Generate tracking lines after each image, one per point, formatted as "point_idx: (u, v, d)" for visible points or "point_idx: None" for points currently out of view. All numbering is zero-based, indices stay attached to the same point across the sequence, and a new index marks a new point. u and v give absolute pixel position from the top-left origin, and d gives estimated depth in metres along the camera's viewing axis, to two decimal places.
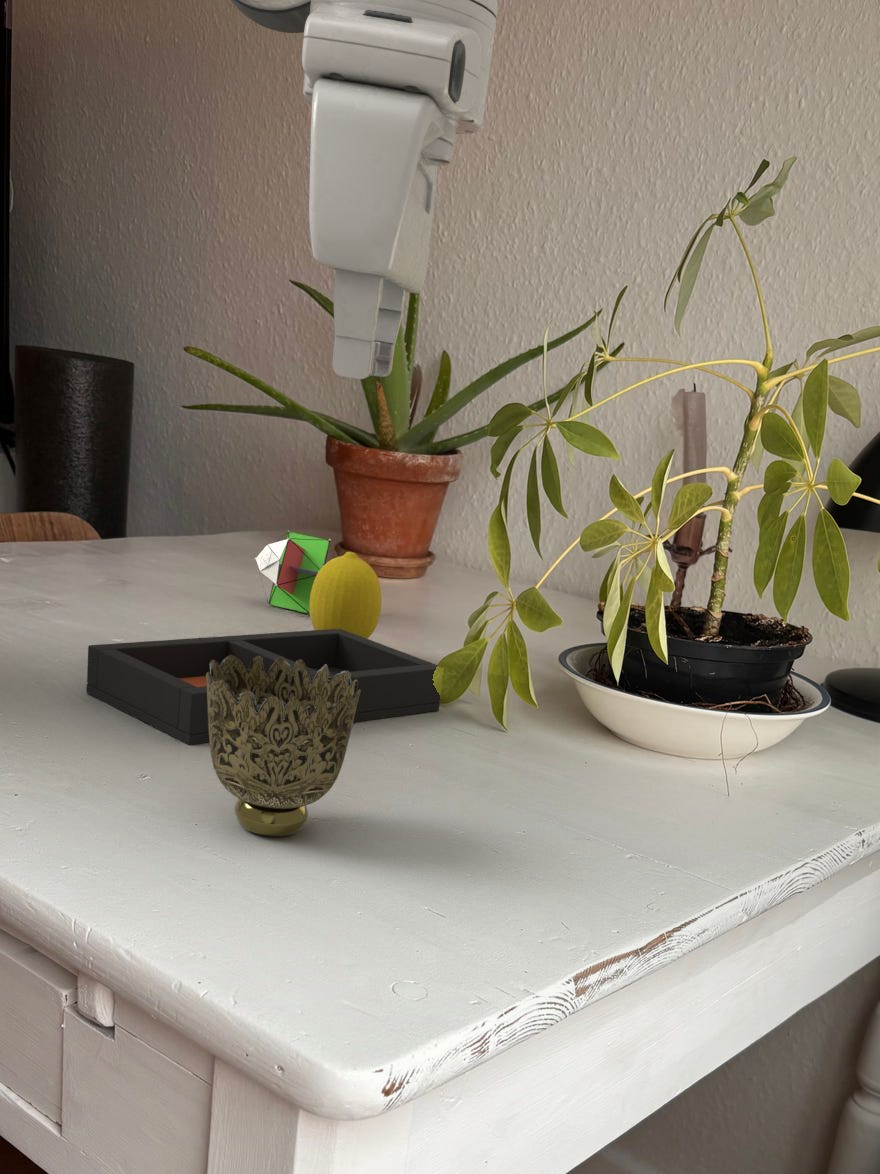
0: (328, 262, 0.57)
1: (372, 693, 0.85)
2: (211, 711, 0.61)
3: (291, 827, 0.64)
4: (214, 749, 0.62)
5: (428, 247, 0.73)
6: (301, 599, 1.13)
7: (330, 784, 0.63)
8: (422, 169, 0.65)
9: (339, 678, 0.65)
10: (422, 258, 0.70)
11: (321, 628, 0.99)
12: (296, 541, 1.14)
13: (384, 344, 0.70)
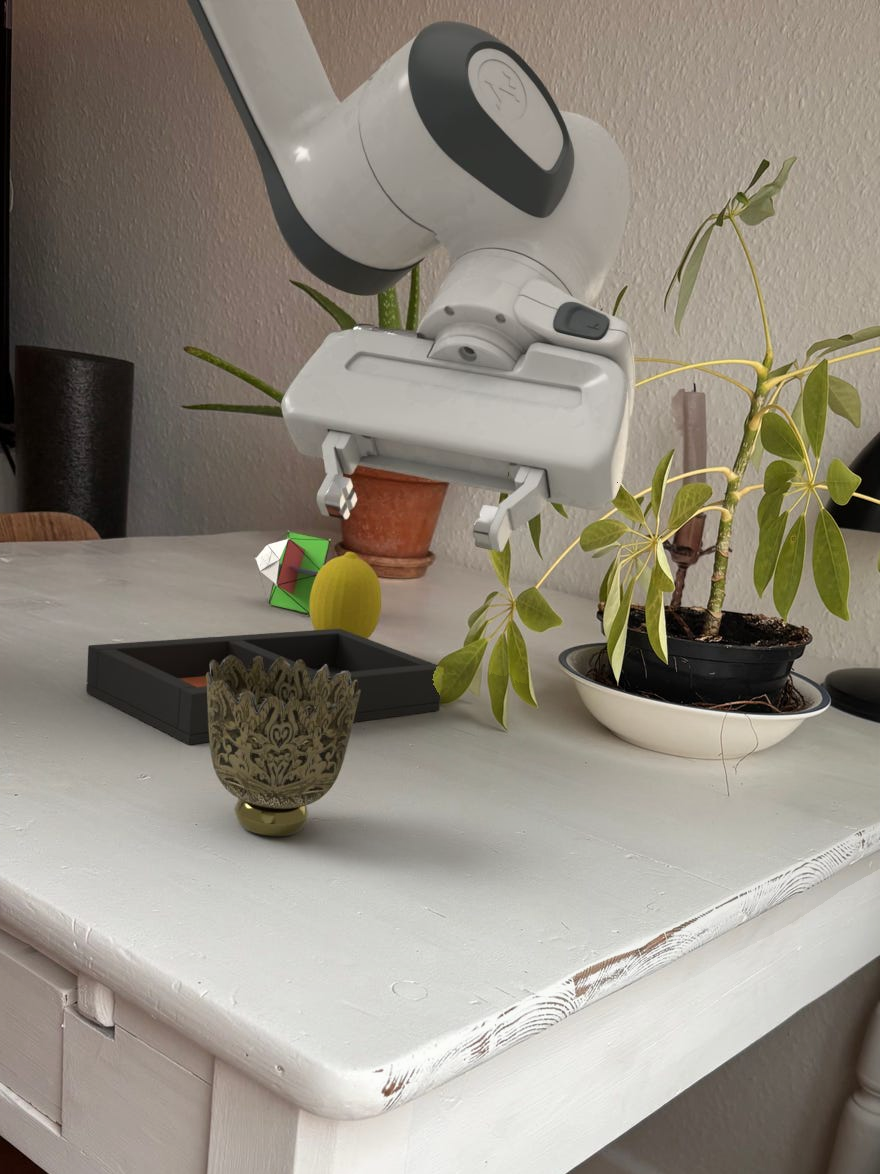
0: (595, 479, 0.69)
1: (372, 693, 0.85)
2: (211, 711, 0.61)
3: (291, 827, 0.64)
4: (214, 749, 0.62)
5: None
6: (301, 599, 1.13)
7: (330, 784, 0.63)
8: None
9: (339, 678, 0.65)
10: None
11: (321, 628, 0.99)
12: (296, 541, 1.14)
13: (355, 495, 0.73)
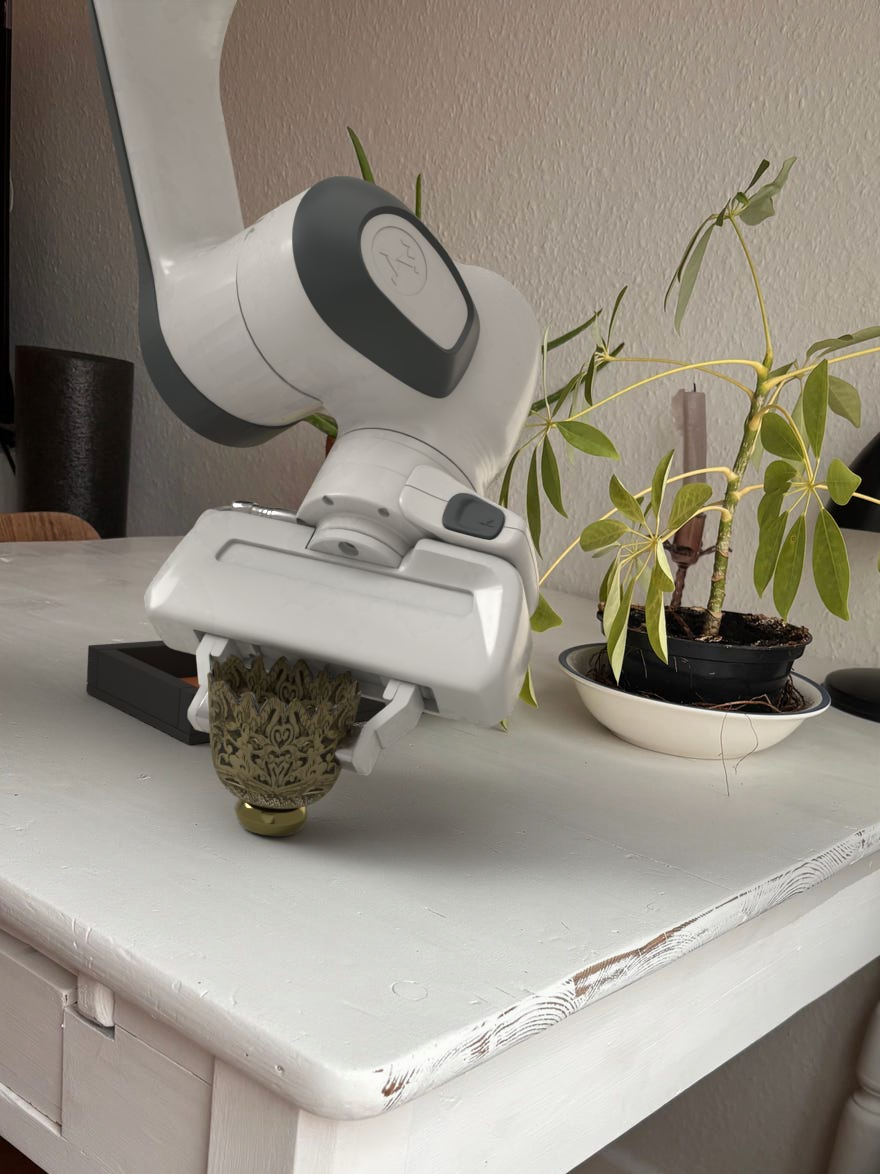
0: (485, 701, 0.61)
1: None
2: (212, 711, 0.61)
3: (291, 827, 0.64)
4: (215, 749, 0.62)
5: None
6: None
7: (330, 785, 0.63)
8: None
9: (340, 679, 0.65)
10: None
11: None
12: None
13: None
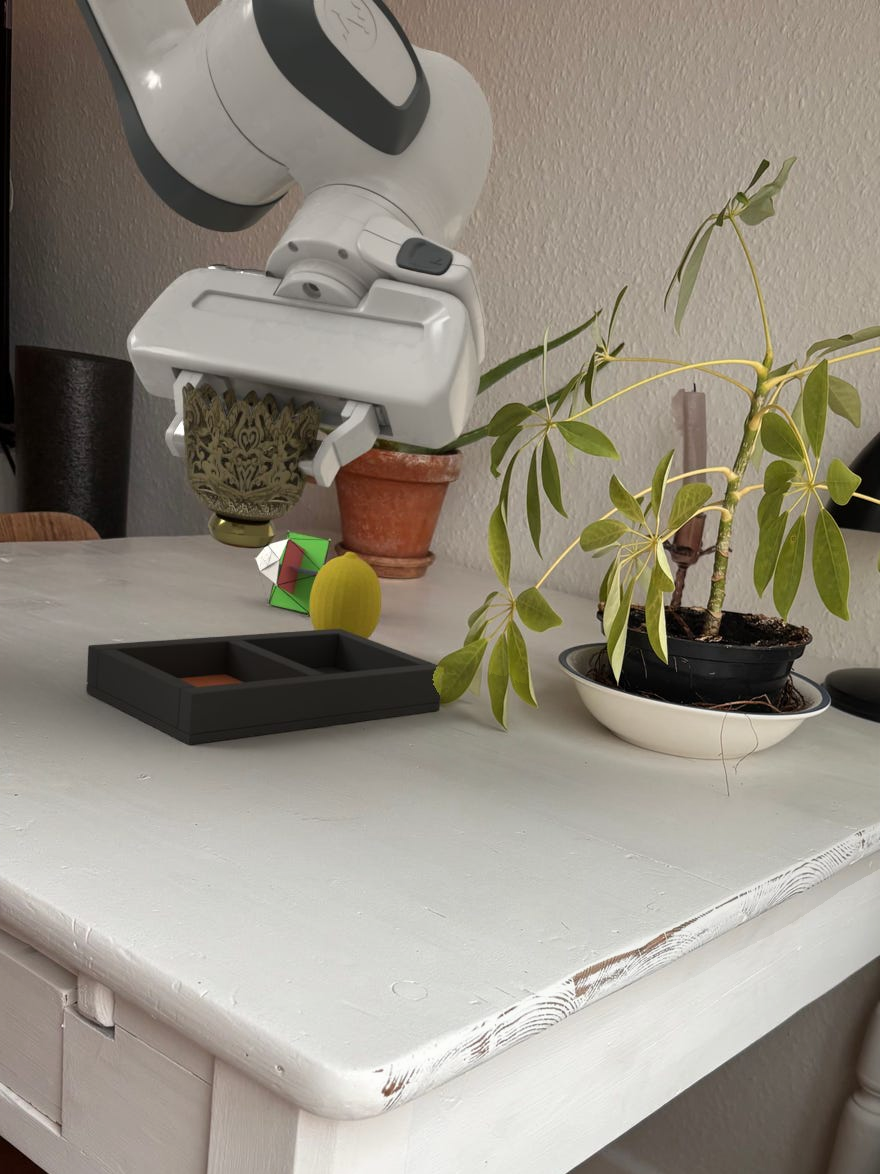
0: (433, 415, 0.68)
1: (372, 693, 0.85)
2: (186, 423, 0.67)
3: (259, 539, 0.70)
4: (189, 460, 0.68)
5: None
6: (301, 599, 1.13)
7: (294, 498, 0.70)
8: None
9: (304, 408, 0.71)
10: None
11: (321, 628, 0.99)
12: (296, 541, 1.14)
13: None
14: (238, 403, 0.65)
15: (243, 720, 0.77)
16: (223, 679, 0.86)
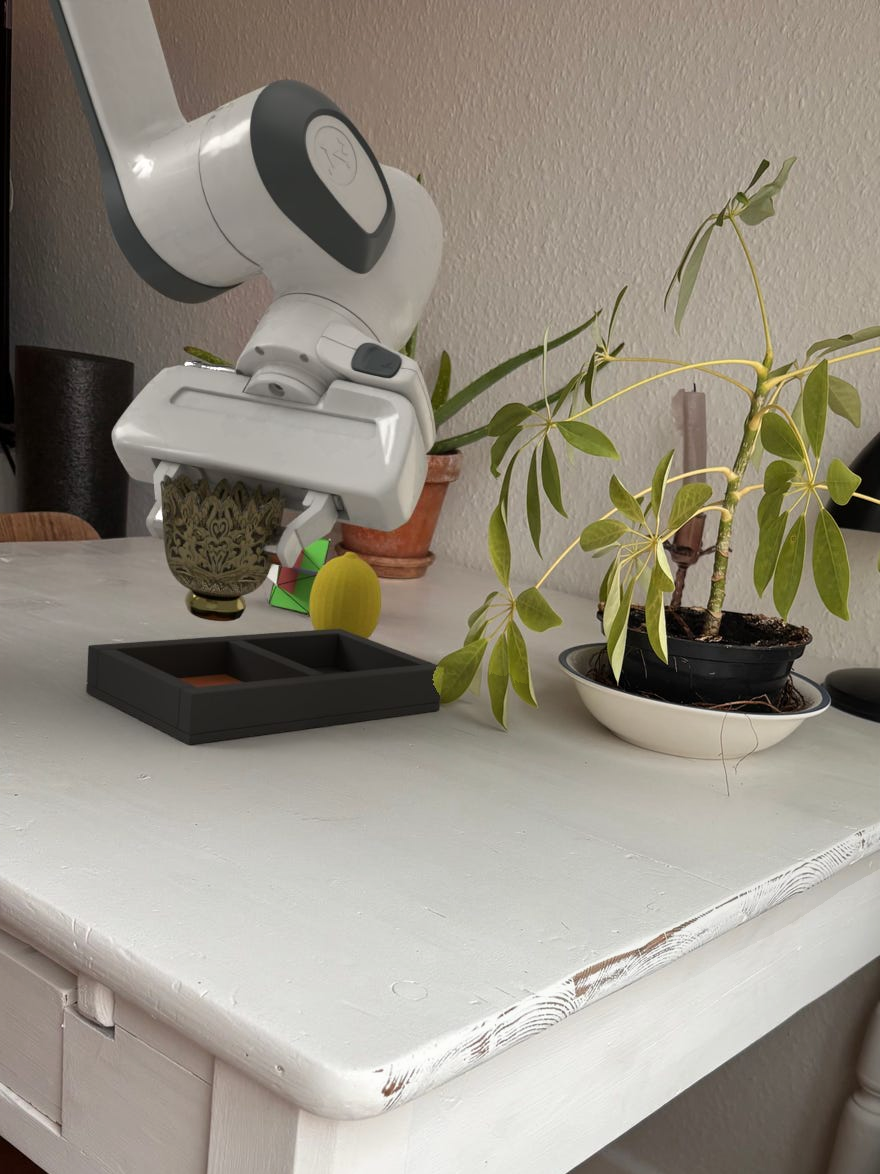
0: (383, 504, 0.76)
1: (372, 693, 0.85)
2: (164, 513, 0.76)
3: (230, 613, 0.79)
4: (167, 545, 0.77)
5: None
6: (301, 599, 1.13)
7: (261, 577, 0.78)
8: None
9: (270, 495, 0.80)
10: None
11: (321, 628, 0.99)
12: None
13: None
14: (209, 498, 0.74)
15: (243, 720, 0.77)
16: (223, 679, 0.86)
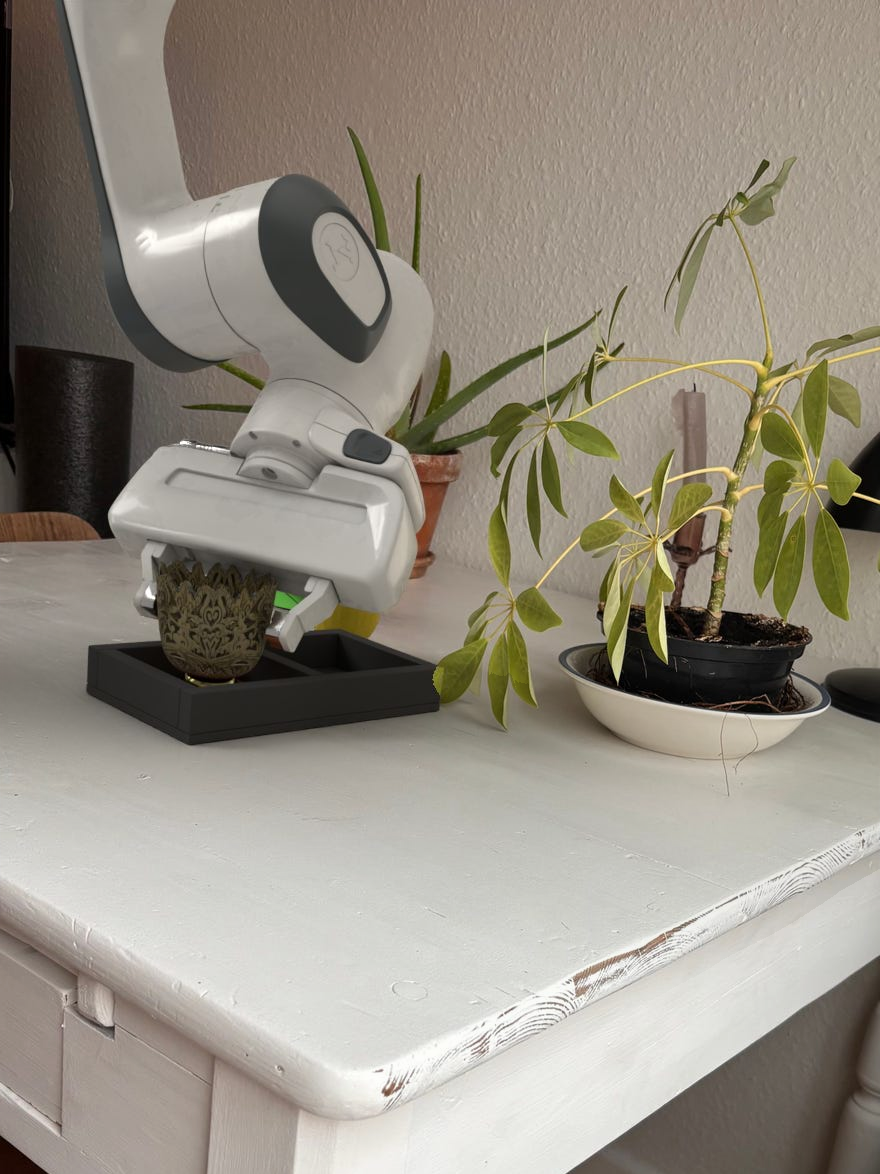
0: (373, 589, 0.78)
1: (372, 693, 0.85)
2: (159, 600, 0.78)
3: None
4: (162, 630, 0.79)
5: None
6: (301, 599, 1.13)
7: (254, 660, 0.80)
8: None
9: (263, 579, 0.82)
10: None
11: (321, 628, 0.99)
12: None
13: None
14: (203, 587, 0.76)
15: (243, 720, 0.77)
16: None
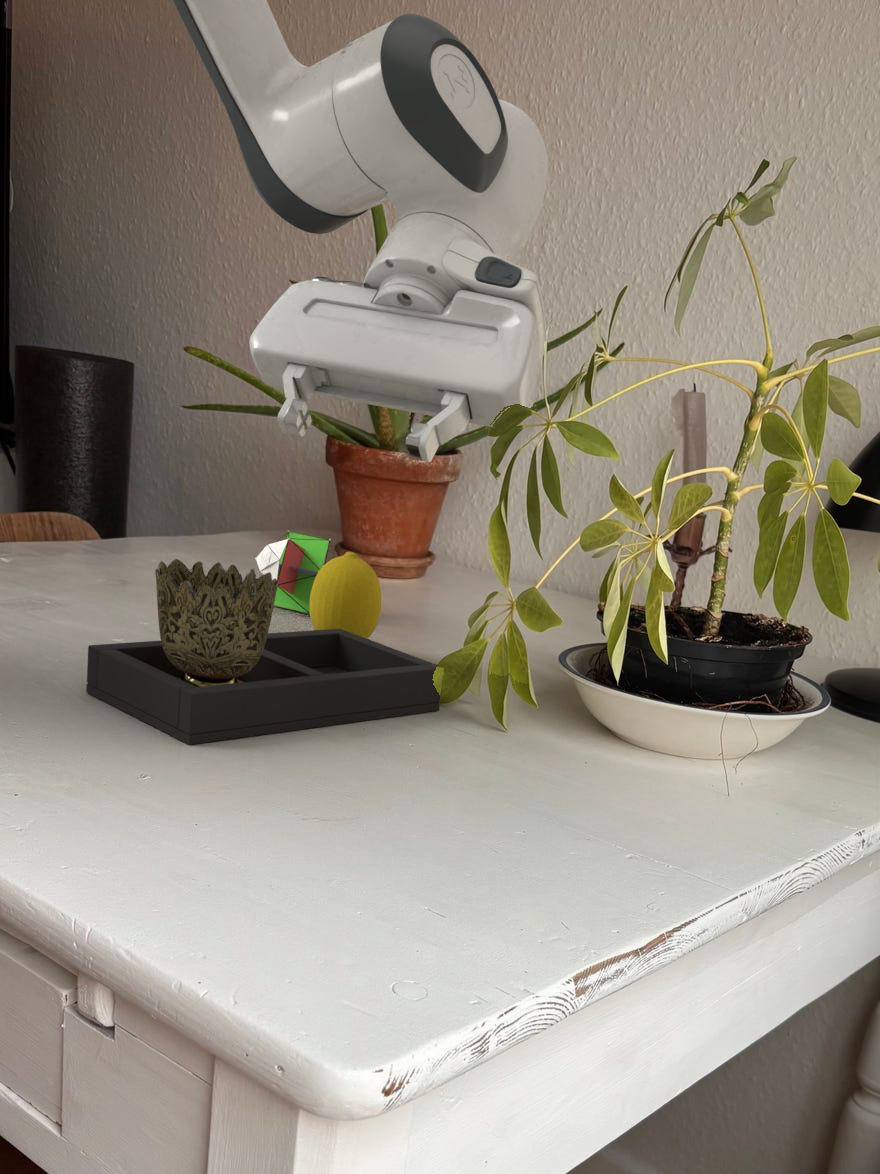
0: (507, 401, 0.83)
1: (372, 693, 0.85)
2: (159, 600, 0.78)
3: None
4: (162, 630, 0.79)
5: None
6: (301, 599, 1.13)
7: (254, 660, 0.80)
8: None
9: (263, 579, 0.82)
10: None
11: (321, 628, 0.99)
12: (296, 541, 1.14)
13: (310, 417, 0.87)
14: (203, 587, 0.76)
15: (243, 720, 0.77)
16: None
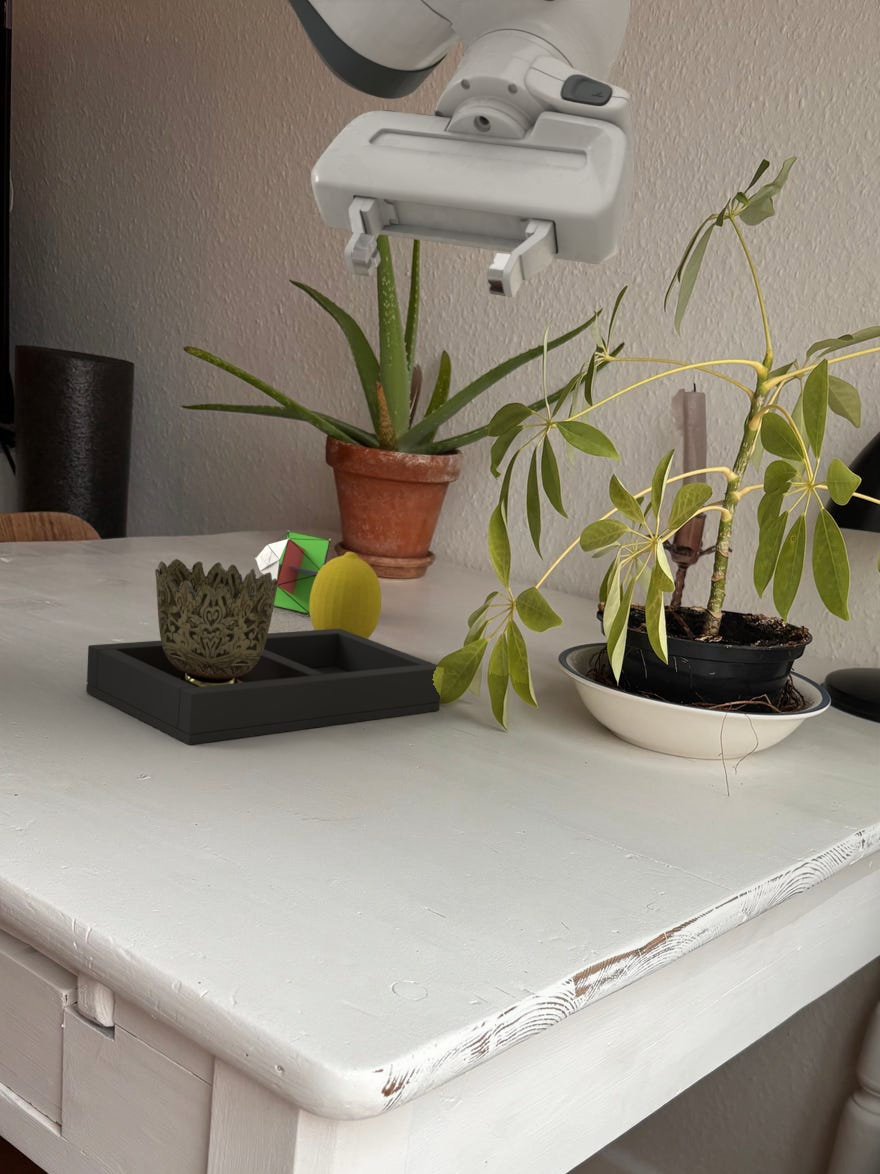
0: (599, 228, 0.76)
1: (372, 693, 0.85)
2: (159, 599, 0.78)
3: None
4: (162, 630, 0.79)
5: None
6: (301, 599, 1.13)
7: (254, 660, 0.80)
8: None
9: (263, 579, 0.82)
10: None
11: (321, 628, 0.99)
12: (296, 541, 1.14)
13: (379, 255, 0.80)
14: (203, 587, 0.76)
15: (243, 720, 0.77)
16: None
